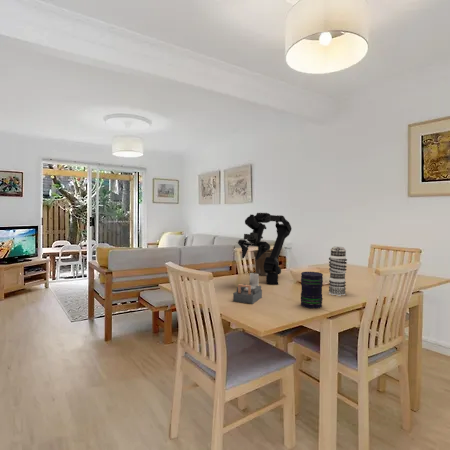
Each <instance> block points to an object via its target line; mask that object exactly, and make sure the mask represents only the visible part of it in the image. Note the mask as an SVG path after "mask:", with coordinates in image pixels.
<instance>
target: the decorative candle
mask: <svg viewBox="0 0 450 450" xmlns="http://www.w3.org/2000/svg"><path fill="white" fill-rule="evenodd" d="M329 250H330V255H329V258H328V266H329V269H328V270H329V274H330V275H329V280H328V282H329V283H328V285H329V286H328V295H330V294H331V295H330V296H333V295H338V296H337V297H342V296H341V295H345V296H346V292H347V291H346V290H347V288H346V286H347V285H346V283H347V282H346V273H347V264H348V262H347V261H348V259H347V256H346V255H347V253H346V252H347V250H346V248H345V247H343V246H333V247H331V248H330V249H329Z"/></svg>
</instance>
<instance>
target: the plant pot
mask: <svg viewBox="0 0 450 450" xmlns="http://www.w3.org/2000/svg"><path fill="white" fill-rule="evenodd" d="M272 250H273V249H270V250H267V251H266V252H265V253H263V254H262V255H261V256H260V258H259V259H258V260H256V255H257V252H258V249H254V250H252V252H253V257H254V267H255V274H259V276H263V277H264V276H265V277H266V275H267V273H265V271H264V262H265V259H266V257H270V255H271V252H272Z"/></svg>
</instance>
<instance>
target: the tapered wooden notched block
mask: <svg viewBox="0 0 450 450" xmlns="http://www.w3.org/2000/svg"><path fill="white" fill-rule="evenodd" d="M259 276H260V275H259V274H256V273H253V272H252V273H251V272H250V273H249V285H250V286H251V291H252V290H253V289H254V288H256V287H258V286H259V278H260V277H259ZM244 291H248V287H246V288H245V289H244Z"/></svg>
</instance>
